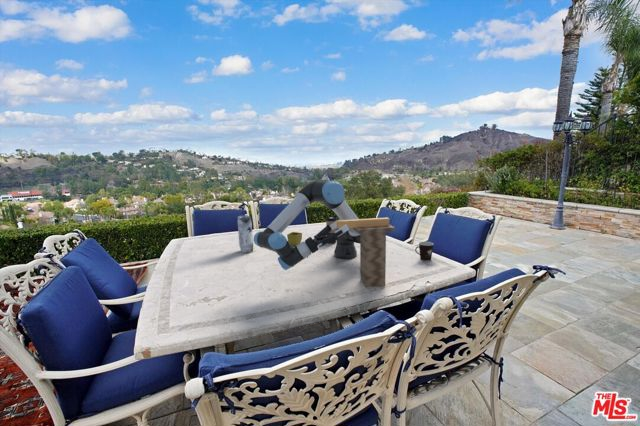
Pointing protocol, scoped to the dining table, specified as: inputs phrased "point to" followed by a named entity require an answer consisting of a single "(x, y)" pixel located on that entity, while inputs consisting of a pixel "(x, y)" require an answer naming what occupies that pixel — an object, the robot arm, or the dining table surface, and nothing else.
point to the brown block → (363, 222)
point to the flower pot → (294, 238)
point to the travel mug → (330, 221)
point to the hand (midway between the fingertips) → (344, 223)
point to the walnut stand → (373, 254)
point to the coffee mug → (425, 250)
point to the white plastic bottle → (245, 233)
